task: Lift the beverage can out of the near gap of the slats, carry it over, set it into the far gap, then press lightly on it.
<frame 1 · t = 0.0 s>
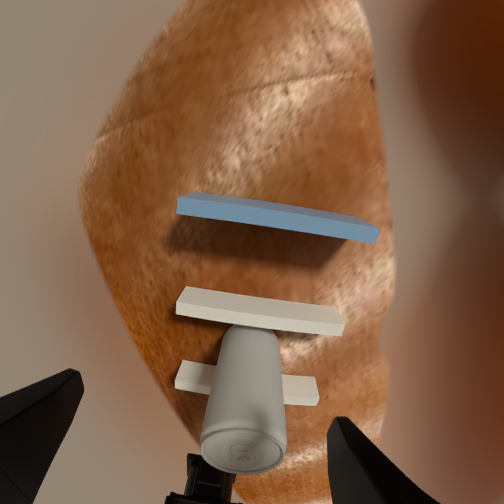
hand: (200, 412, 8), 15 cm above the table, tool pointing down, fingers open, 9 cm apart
beverage can: (250, 340, 24), on the table
slats: (261, 303, 23), on the table
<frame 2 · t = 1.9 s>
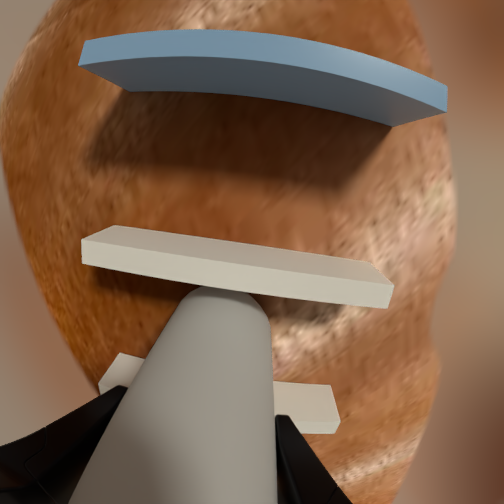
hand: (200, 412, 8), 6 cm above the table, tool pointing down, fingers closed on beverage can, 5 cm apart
beverage can: (222, 322, 14), on the table, touching gripper
slats: (238, 253, 13), on the table
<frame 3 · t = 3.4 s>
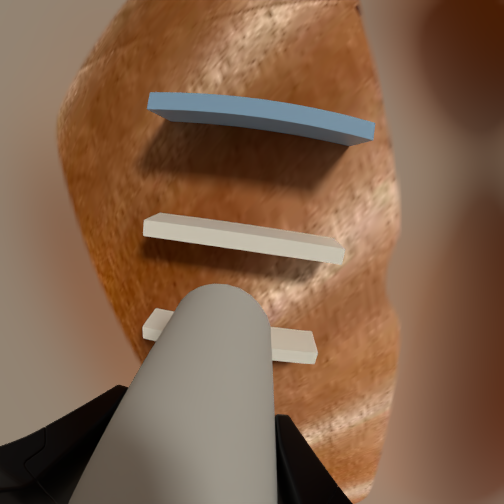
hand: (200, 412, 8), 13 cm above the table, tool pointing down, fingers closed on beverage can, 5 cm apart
beverage can: (222, 322, 14), point 7 cm above the table, touching gripper
slats: (245, 231, 20), on the table
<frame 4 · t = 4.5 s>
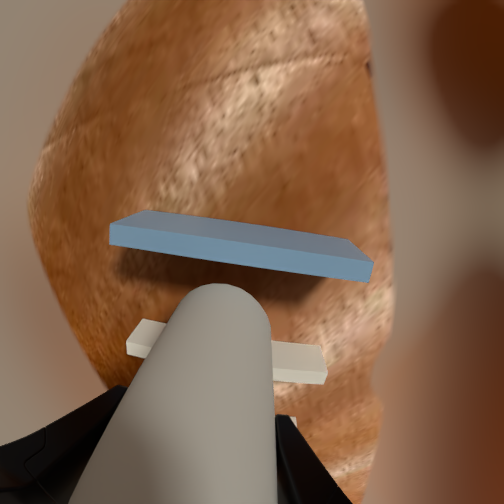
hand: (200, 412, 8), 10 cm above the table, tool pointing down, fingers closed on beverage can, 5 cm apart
beverage can: (222, 321, 14), point 4 cm above the table, touching gripper
slats: (229, 340, 19), on the table
when the fingers open (7 cm above the table, at t = 5.3 s): beverage can drops 1 cm, on the table.
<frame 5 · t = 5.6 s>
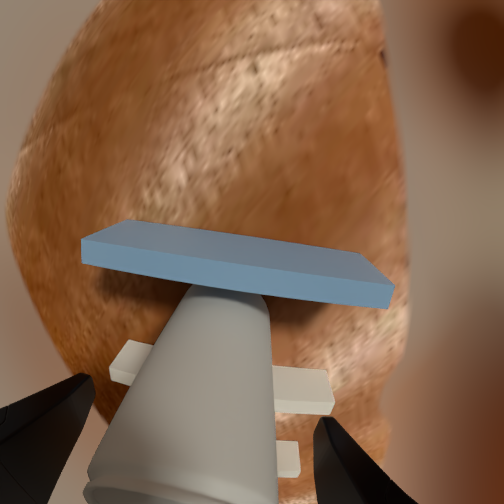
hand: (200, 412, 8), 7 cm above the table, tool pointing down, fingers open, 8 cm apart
beverage can: (225, 310, 16), on the table
slats: (224, 365, 17), on the table
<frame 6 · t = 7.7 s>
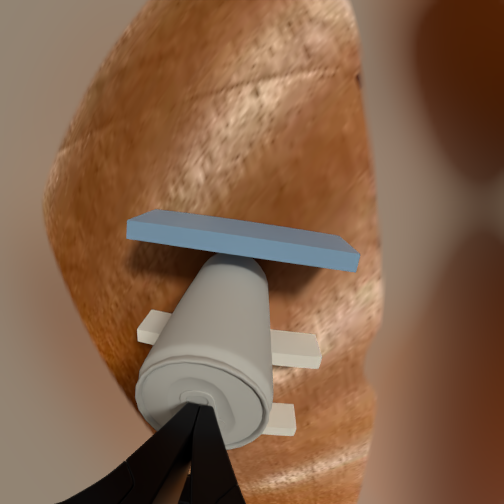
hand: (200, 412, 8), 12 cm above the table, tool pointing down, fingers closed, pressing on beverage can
beverage can: (232, 281, 20), on the table, touching gripper
slats: (231, 329, 21), on the table
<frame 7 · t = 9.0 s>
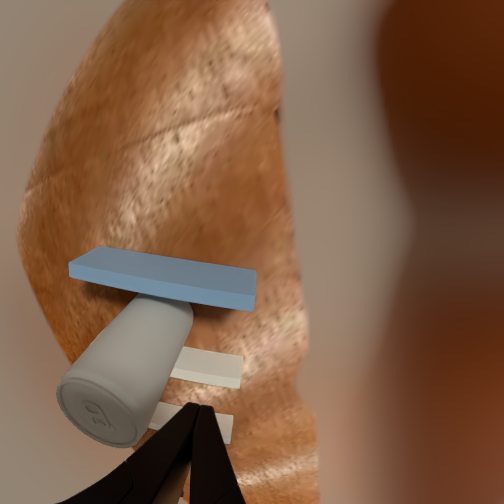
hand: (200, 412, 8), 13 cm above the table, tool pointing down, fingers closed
beverage can: (166, 308, 22), on the table
slats: (169, 348, 23), on the table
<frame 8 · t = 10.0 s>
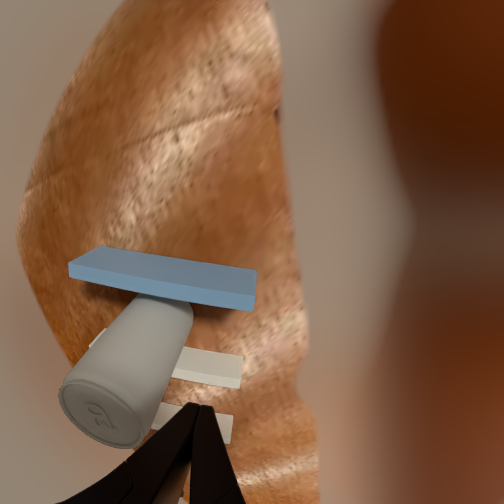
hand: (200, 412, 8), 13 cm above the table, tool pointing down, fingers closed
beverage can: (166, 308, 22), on the table
slats: (169, 348, 23), on the table
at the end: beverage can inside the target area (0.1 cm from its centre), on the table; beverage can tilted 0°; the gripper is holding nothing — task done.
